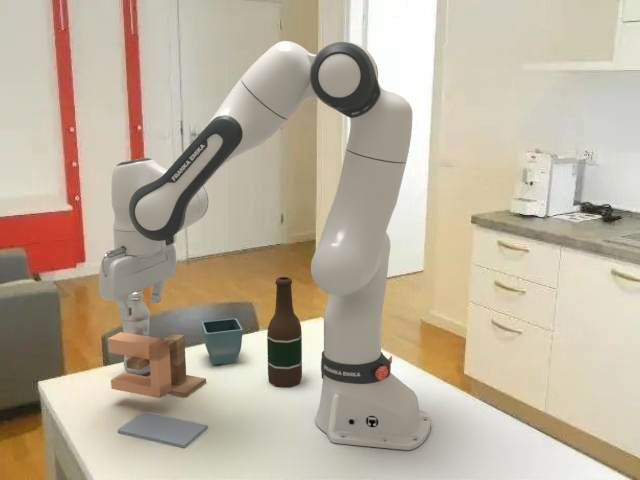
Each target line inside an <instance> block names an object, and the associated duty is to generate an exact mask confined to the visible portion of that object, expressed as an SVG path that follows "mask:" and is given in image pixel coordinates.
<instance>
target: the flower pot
mask: <svg viewBox="0 0 640 480" xmlns="http://www.w3.org/2000/svg"><path fill="white" fill-rule="evenodd" d="M201 330H202V336H203V342H204V345H205V346H204V347H205V348H206V350H207V351H206V352H207V353H208V356H209V359H210V360H211V362H212V363H213V365H223V364H229V363H230V364H231V363H236V361H237V359H238V358H239V355H240V353H241V350H242V343H243V342H242V341H243V331H244V329H243V326H241V324H240V322H239V319H237V318H226V319H216V320H210V321H209V320H206V321H202V322H201Z"/></svg>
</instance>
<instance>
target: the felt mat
mask: <svg viewBox="0 0 640 480" xmlns="http://www.w3.org/2000/svg"><path fill="white" fill-rule="evenodd" d="M208 427H209V426H208V424H204V423H200V422H194V421H191V420H186V419H181V418H177V417H172V416H166V415H162V414H158V413H152V412H148V411H144V410H143V411H142V412H140V413H139V414H137V416H135V417H133V418H132V419H131V420H129V421H128V422H126V423H125V424H124V425H122V426H121V427H120V428H118V429H117V433H118V434H121V435H126V436H131V437H133V438H138V439H144V440H149V441H153V442H156V443H161V444H166V445H170V446H175V447H178V448H181V449H182V448H183V449H186V448H187V447H188V446H189V445H190V444H191V443H193V442H194V441H195V440H196V439H197V438H199V436H200V435H202V434H203V433H205V431H206V430H207V429H208Z"/></svg>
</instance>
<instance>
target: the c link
mask: <svg viewBox="0 0 640 480" xmlns="http://www.w3.org/2000/svg"><path fill="white" fill-rule="evenodd" d="M107 347H108V353H110V354H116V355H120V356H125V355H126V356H132V357H137V358H143V359H149V360H150V373H149V376H145V375H141V376H140V375H135V374H130V373H127V372H121V373H120V374H118V375H116V376H114V377H113V378H111V379H110V387H111V389H112V390H116V391H121V392H125V393H126V392H127V393H130V394H134V395H135V394H137V395H141V396H145V397H150V398H155V399H161V398H163V397H164V396H166V395H168V394H167V393H169V392H170V391H171V390H172V386H171V368H170V349H169V340H166V339H164V338H160V337H153V336H149V337H148V336H141V335H135V334H129V333H124V331H123V332H122V331H120V332H118V333H116V334H114V335H112V336H110V337H107Z"/></svg>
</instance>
